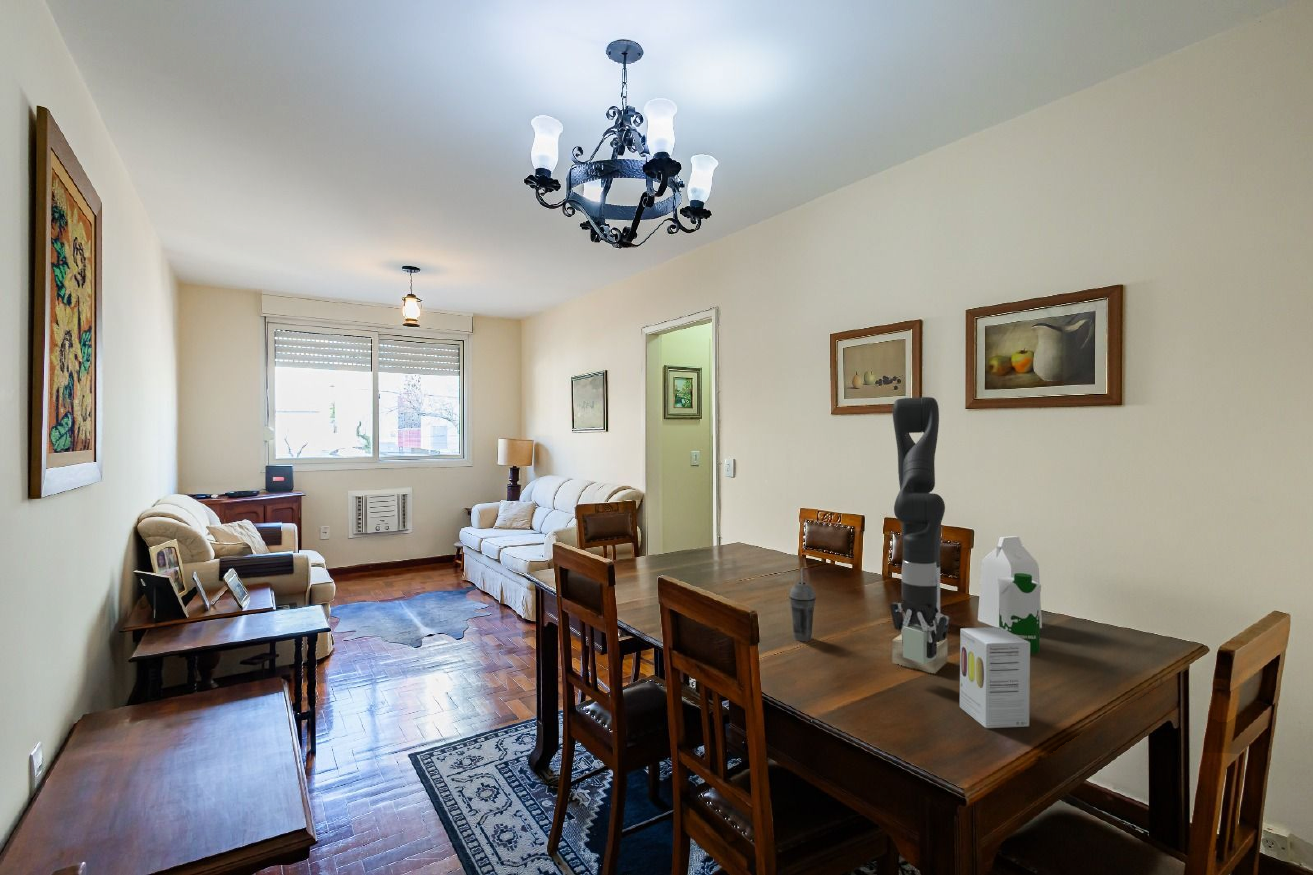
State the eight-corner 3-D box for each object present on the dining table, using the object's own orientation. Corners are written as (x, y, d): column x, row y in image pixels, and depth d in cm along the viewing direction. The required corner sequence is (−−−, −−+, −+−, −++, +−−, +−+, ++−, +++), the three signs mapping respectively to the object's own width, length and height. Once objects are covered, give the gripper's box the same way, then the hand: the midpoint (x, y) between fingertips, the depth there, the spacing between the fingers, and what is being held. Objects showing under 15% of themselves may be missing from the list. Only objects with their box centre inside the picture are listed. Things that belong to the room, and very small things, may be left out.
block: (903, 657, 142) (902, 626, 142) (915, 651, 145) (915, 622, 145) (923, 663, 138) (923, 632, 138) (935, 658, 141) (935, 628, 141)
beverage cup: (818, 636, 173) (818, 565, 173) (813, 644, 167) (813, 571, 166) (792, 633, 176) (792, 563, 176) (786, 641, 170) (786, 568, 169)
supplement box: (958, 707, 129) (958, 627, 129) (999, 705, 130) (1000, 625, 130) (986, 729, 120) (986, 643, 119) (1031, 727, 120) (1031, 641, 120)
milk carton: (1009, 654, 159) (1009, 576, 159) (993, 641, 168) (993, 568, 168) (1045, 655, 158) (1045, 577, 158) (1027, 642, 167) (1027, 569, 167)
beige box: (892, 664, 153) (892, 639, 153) (906, 653, 161) (906, 629, 161) (934, 674, 147) (934, 648, 147) (947, 662, 154) (947, 637, 154)
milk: (1008, 616, 191) (1008, 532, 190) (1041, 627, 180) (1042, 539, 179) (977, 620, 187) (977, 535, 186) (1010, 632, 176) (1010, 541, 175)
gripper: (881, 576, 144) (881, 648, 145) (940, 589, 133) (940, 667, 133) (900, 571, 149) (900, 641, 149) (958, 583, 137) (958, 659, 138)
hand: (919, 653), depth 141 cm, fingers closed on block, 5 cm apart
